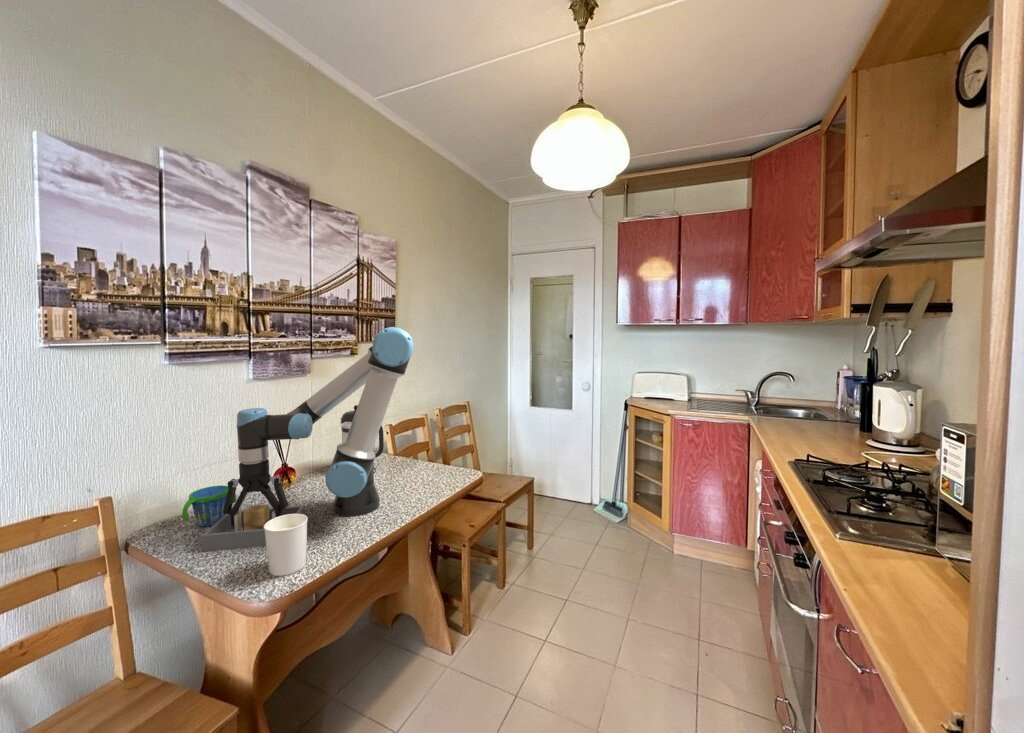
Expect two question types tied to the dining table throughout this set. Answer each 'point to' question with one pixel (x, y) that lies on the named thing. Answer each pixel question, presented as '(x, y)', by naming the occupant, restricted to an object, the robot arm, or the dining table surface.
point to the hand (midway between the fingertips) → (257, 533)
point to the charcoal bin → (238, 533)
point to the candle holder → (286, 543)
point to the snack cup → (207, 505)
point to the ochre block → (256, 517)
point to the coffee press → (346, 424)
